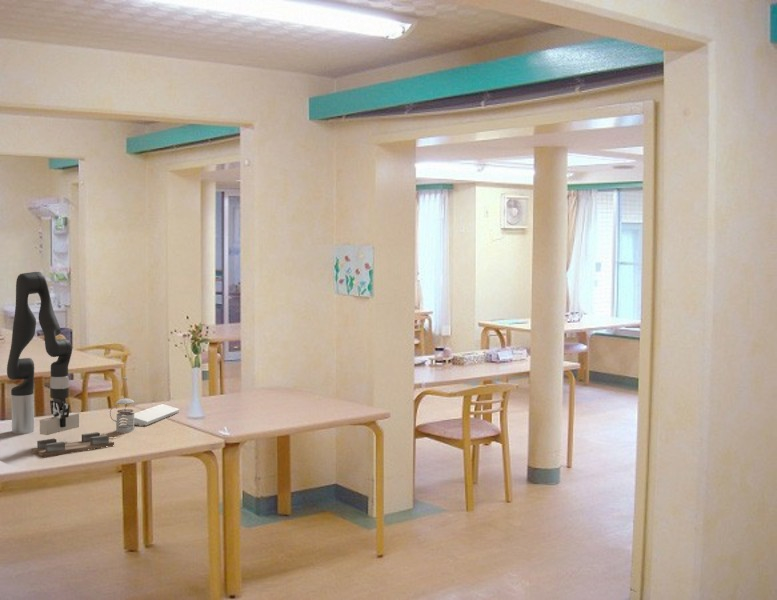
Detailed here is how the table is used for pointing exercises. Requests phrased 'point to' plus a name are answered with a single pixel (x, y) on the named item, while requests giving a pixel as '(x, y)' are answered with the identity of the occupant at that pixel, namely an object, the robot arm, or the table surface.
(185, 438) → the table surface
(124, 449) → the table surface
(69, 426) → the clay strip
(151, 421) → the decorative molding
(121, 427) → the french press
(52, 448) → the dark brown long fixture
